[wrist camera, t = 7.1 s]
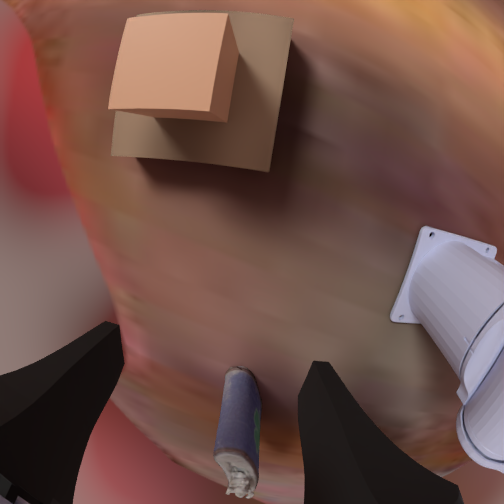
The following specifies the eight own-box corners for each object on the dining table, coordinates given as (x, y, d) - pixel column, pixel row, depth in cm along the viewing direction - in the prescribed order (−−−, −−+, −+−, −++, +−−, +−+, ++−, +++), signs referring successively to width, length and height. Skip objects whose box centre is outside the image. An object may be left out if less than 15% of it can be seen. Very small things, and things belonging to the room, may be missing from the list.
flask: (223, 365, 23) (205, 475, 13) (257, 364, 23) (253, 476, 13) (236, 422, 26) (229, 509, 16) (264, 422, 26) (263, 510, 16)
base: (289, 36, 14) (294, 18, 11) (267, 167, 17) (268, 172, 14) (153, 30, 14) (136, 14, 11) (132, 153, 17) (110, 155, 14)
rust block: (239, 52, 12) (228, 13, 7) (227, 122, 13) (209, 111, 9) (166, 50, 12) (127, 18, 7) (154, 117, 13) (108, 109, 9)
